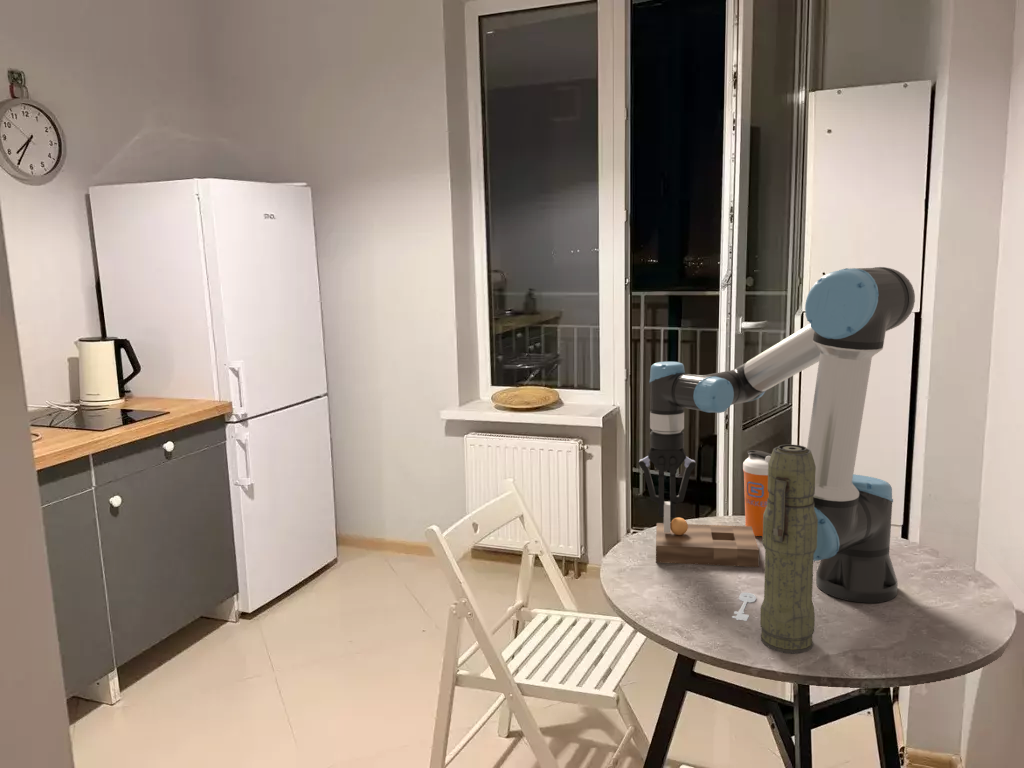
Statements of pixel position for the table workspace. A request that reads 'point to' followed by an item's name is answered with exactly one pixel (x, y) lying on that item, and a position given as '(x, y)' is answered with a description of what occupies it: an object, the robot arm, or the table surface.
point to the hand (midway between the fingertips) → (667, 530)
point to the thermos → (789, 551)
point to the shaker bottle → (756, 489)
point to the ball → (678, 526)
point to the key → (745, 599)
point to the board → (708, 546)
